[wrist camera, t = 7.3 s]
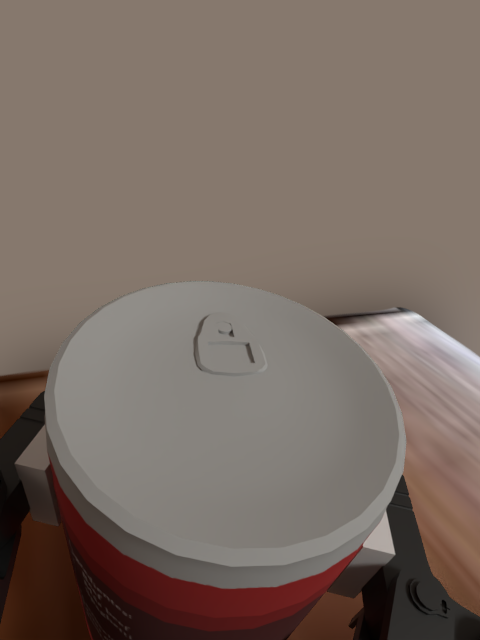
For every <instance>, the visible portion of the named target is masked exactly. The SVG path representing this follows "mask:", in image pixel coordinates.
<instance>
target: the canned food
mask: <svg viewBox="0 0 480 640" xmlns="http://www.w3.org/2000/svg"><path fill="white" fill-rule="evenodd" d="M44 401H45V430H46V443H47V453H48V457H49V461H50V466H51V470H52V475H53V485H54V490H55V494H56V498H57V502H58V506H59V510H60V515H61V519H62V523H63V527H64V531H65V535H66V540H67V544H68V548H69V552H70V556H71V561H72V565H73V569H74V573H75V577H76V581H77V586H78V590H79V594H80V598H81V602H82V606H83V611H84V615H85V619H86V623H87V627H88V631H89V634H90V637H91V640H286V639H287V638H288V637H289V636H290V635H291V633H292V632H293V631H294V630H295V628H296V627H297V626H298V625H299V624H300V622H301V621H302V620H303V619H304V617H305V616H306V615H307V614H308V613H309V611H310V610H311V609H312V608H313V606H314V605H315V604H316V603H317V602H318V600H319V599H320V598H321V597H322V595H323V594H324V593H325V592H326V591H327V589H328V588H329V587H330V586H331V584H332V583H333V582H334V581H335V580H336V578H337V577H338V576H339V575H340V573H341V572H342V571H343V570H344V569H345V567H346V566H347V565H348V564H349V562H350V561H351V560H352V559H353V558H354V556H355V555H356V554H357V553H358V551H359V550H360V549H361V547H362V545H363V543H364V542H365V540H366V539H367V538H368V537H369V535H370V534H371V533H372V532H373V530H374V529H375V528H376V527H377V525H378V524H379V523H380V522H381V520H382V518H383V515H384V513H385V510H386V508H387V506H388V504H389V503H390V502H391V500H392V497H393V495H394V492H395V490H396V488H397V485H398V483H399V480H400V478H401V476H402V473H403V470H404V460H405V450H406V436H405V430H404V423H403V417H402V412H401V410H400V407H399V405H398V402H397V400H396V397H395V395H394V392H393V389H392V387H391V386H390V384H389V383H388V381H387V379H386V378H385V376H384V375H383V373H382V371H381V370H380V368H379V367H378V365H377V364H376V363H375V362H374V361H373V360H372V358H371V357H370V356H369V355H368V354H367V353H366V351H365V350H364V349H363V348H362V347H361V346H360V345H359V344H358V343H357V342H356V341H354V340H353V339H352V338H351V337H350V336H349V335H348V334H347V333H345V332H344V331H343V330H342V329H340V328H339V327H338V326H336V325H335V324H333V323H332V322H330V321H329V320H327V319H326V318H325V317H323V316H321V315H320V314H318V313H316V312H314V311H312V310H310V309H309V308H306V307H305V306H303V305H301V304H299V303H296V302H294V301H292V300H289V299H287V298H284V297H282V296H279V295H276V294H273V293H270V292H267V291H264V290H260V289H256V288H252V287H247V286H242V285H238V284H231V283H222V282H213V281H212V282H211V281H209V282H208V281H187V282H176V283H166V284H161V285H157V286H152V287H148V288H143V289H140V290H137V291H135V292H132V293H129V294H126V295H123V296H121V297H119V298H117V299H115V300H113V301H111V302H109V303H107V304H105V305H104V306H102V307H100V308H98V309H97V310H96V311H94V312H93V313H92V314H91V315H89V316H88V317H87V318H85V319H84V320H83V321H81V322H80V323H79V324H78V325H77V327H76V328H75V329H74V330H73V331H72V332H71V334H70V335H69V336H68V337H67V338H66V339H65V340H64V342H63V343H62V345H61V347H60V349H59V351H58V353H57V355H56V357H55V359H54V360H53V362H52V364H51V366H50V370H49V375H48V380H47V384H46V389H45V394H44Z"/></svg>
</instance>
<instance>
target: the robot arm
mask: <svg viewBox="0 0 480 640" xmlns="http://www.w3.org/2000/svg"><path fill="white" fill-rule="evenodd" d="M44 394H45V391H44V392H42V393H40V395H39V396H38V397H37V398H36V399H35V400H34V401H33V403H32V404H31V405H30V407H29V409H26V411H25V412H24V413H23V414H22V415H21V416H20V419H18V420H17V421H16V422H15V423H14V424H13V425H12V427H11V428H10V429H9V430H8V431H7V432H6V433H5V435H4V436H3V437H2V438H1V439H0V622H1V618H2V614H3V610H4V605H5V601H6V597H7V593H8V588H9V584H10V580H11V576H12V571H13V567H14V563H15V558H16V554H17V550H18V546H19V541H20V537H21V523H22V521H23V520H24V518H25V517H26V515H27V514H28V512H29V511H30V513H31V516H32V519H33V520H34V521H38V522H42V523H46V524H51V525H55V526H59V525H60V523H61V521H62V519H61V515H60V510H59V506H58V502H57V498H56V494H55V490H54V485H53V475H52V470H51V466H50V461H49V457H48V453H47V443H46V430H45V401H44ZM408 495H409V493H408V489H407V486H406V482H405V479H404V476H403V475H402V476H401V478H400V480H399V483H398V485H397V488H396V490H395V492H394V495H393V497H392V500H391V502H390V503H389V504H388V506H387V508H386V510H385V513H384V515H383V518H382V520H381V522H380V523H379V524H378V525H377V527H376V528H375V529H374V530H373V532H372V533H371V534H370V535H369V537H368V538H367V539H366V540H365V542H364V543H363V545H362V547H361V549H360V550H359V551H358V553H357V554H356V555H355V556H354V558H353V559H352V560H351V561H350V562H349V564H348V565H347V566H346V567H345V569H344V570H343V571H342V572H341V573H340V575H339V576H338V577H337V578H336V580H335V581H334V582H333V583H332V584H331V586H330V587H329V588H328V589H327V592H330V593H334V594H338V595H342V596H346V597H350V598H355V597H356V596H357V595H358V594H359V593H360V592H361V591H362V597H363V605H364V607H363V608H362V609H361V610H360V611H359V612H358V613H357V614H356V615H355V616H354V617H353V618H352V620H351V622H350V624H349V627H350V628H352V629H353V628H354V627H355V626H356V629H355V633H354V638H353V640H480V617H479V616H477V615H475V614H474V613H472V612H470V611H469V610H467V609H466V608H464V607H462V606H461V605H459V604H458V603H457V602H455V601H454V600H452V599H451V598H450V597H449V595H448V593H447V591H446V590H445V589H444V587H443V586H442V585H441V583H440V582H439V581H438V580H437V579H436V578H435V577H434V576H433V574H432V572H431V570H430V567H429V564H428V561H427V558H426V554H425V550H424V547H423V543H422V540H421V536H420V533H419V529H418V525H417V522H416V518H415V515H414V512H413V511H412V509H413V507H412V504H411V500H410V497H409V496H408Z"/></svg>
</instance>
